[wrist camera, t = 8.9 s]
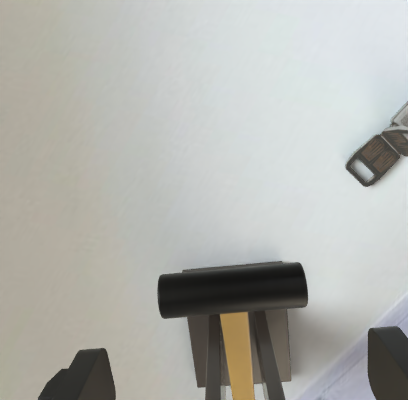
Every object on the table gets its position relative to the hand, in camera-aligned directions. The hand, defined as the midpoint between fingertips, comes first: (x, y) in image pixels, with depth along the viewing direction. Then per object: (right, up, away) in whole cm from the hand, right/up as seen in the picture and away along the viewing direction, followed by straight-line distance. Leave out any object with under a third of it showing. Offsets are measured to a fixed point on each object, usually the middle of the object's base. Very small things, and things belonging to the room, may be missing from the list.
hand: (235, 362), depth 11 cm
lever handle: (+1, -4, +8) cm, 9 cm away
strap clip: (+14, +10, +18) cm, 25 cm away
